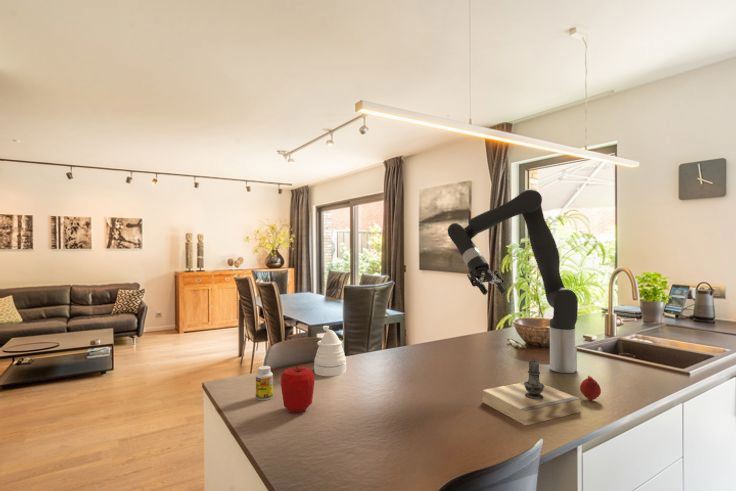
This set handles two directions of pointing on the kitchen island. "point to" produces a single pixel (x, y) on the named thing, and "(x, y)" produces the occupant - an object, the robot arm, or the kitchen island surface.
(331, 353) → the honey pot
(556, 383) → the kitchen island surface
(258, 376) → the supplement bottle
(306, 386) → the apple
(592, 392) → the onion
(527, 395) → the dark grey chess piece
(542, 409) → the platform
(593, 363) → the kitchen island surface
